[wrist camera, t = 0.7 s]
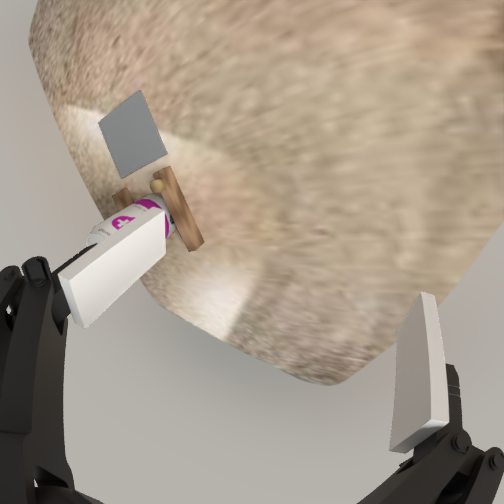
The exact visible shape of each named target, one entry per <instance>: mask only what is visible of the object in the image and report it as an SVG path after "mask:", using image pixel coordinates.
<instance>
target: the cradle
mask: <svg viewBox="0 0 504 504" xmlns="http://www.w3.org/2000/svg"><path fill="white" fill-rule="evenodd" d="M153 176H154V179H155V180H154V181H152V182H151V183H150V188H151V190H152V192H154V193H159V192H161V194H162V196H163V199H164V201H165V203H166V205H167V207H168V209H169V212H170V214H171V216H172V218H173V220H174V222H175V224H176V226H177V229H178V231H179V233H180V235H181V237H182V239H183V241H184V243H185V245H186V247H187V249H188V251H189V252H191V251H195V250H197V249H198V248H199V247H200V246H201V245H202V244H203V243H204V240H203V238H202V236H201V233H200V231H199V229H198V227H197V225H196V223H195V220H194V218H193V216H192V214H191V212H190V209H189V207H188V205H187V203H186V201H185V198H184V196H183V194H182V192H181V189H180V187H179V185H178V183H177V180H176V178H175V176H174V174H173V171H172V169H171V167H170V166H169V167H167V168H164V169H162V170H160V171H158V172H156V173H154V174H153ZM112 198H113V200H114V202H115V204H116V206H117V208H118V210H119V211H121V210H123V209H125V208H126V207H128V206H130V205H131V204H133V203H134V202H133V200H132V197H131V195H130V193H129V191H128V189H127V188H125V189H124V190H122V191H120V192H118V193H116V194H114V195H112Z"/></svg>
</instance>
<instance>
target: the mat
mask: <svg viewBox="0 0 504 504" xmlns="http://www.w3.org/2000/svg"><path fill="white" fill-rule="evenodd" d="M98 124H99V126H100V129H101V131H102V134H103V136H104V139H105V141H106V144H107V146H108V149H109V151H110V153H111V156H112V158H113V161H114V163H115V165H116V168H117V170H118V172H119V175H120V177H121V179H122V178H124V177H126V176H127V175H129V174H131V173H133V172H134V171H136V170H138V169H140V168H142V167H144V166H145V165H147V164H149V163H151V162H153V161H155V160H157V159H158V158H160V157H162V156H164V155H166V154H167V151H166V149H165V147H164V144H163V142H162V139H161V137H160V135H159V132H158V130H157V128H156V125H155V123H154V120H153V118H152V115H151V113H150V111H149V108H148V106H147V103H146V101H145V98H144V96H143V93H142V91H141V90H139V91H138V92H136V93H135V94H134V95H132V96H131V97H130V98H128V99H127V100H126V101H124V102H123V103H122V104H121V105H119V106H118V107H117V108H115V109H114V110H113V111H112V112H111V113H109V114H108V115H107V116H106V117H104V118H103V119H102V120H101V121H100V122H99V123H98Z"/></svg>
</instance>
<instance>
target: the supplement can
mask: <svg viewBox="0 0 504 504" xmlns="http://www.w3.org/2000/svg"><path fill="white" fill-rule="evenodd" d="M152 207H156V208H159V209H163V210H165V239H167V238H168V237H169V236H170V235H171V234H172V233H174V232H175V229H176V227H177V226H176V224H175V222H174V220H173V218H172V216H171V214H170V212H169V209H168V207H167V205H166V203H165V201H164V199H163V197H162V196H160V195H158V194H150V195H148V196H145V197H144V198H142V199H140V200H138V201H137V202H135V203H133V204H131V205H130V206H128V207H126V208H125V209H123V210H121V211H119V212H118V213H116V214H114V215H113V216H111V217H109V218H108V219H106V220H105V221H103V222H101V223H100V224H98V225H97V226H95V227H94V228H93V229H92V231H91V233H90V235H89V236H88V238H87V240H86V247H88V246H90V245H93V244H95V243H98V244H99V243H100V242H101V241H103V240H104V239H106V238H107V237H108V236H110V235H111V234H113V233H114V232H116V231H117V230H119V229H120V228H122V227H123V226H124V225H126V224H127V223H129V222H130V221H132V220H133V219H135V218H136V217H138V216H140V215H141V214H143V213H144V212H146V211H147V210H149V209H150V208H152Z"/></svg>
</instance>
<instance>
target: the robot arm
mask: <svg viewBox="0 0 504 504" xmlns="http://www.w3.org/2000/svg"><path fill="white" fill-rule="evenodd" d="M165 254H166V245H165V210H163V209H159V208H156V207H152V208H150V209H149V210H147V211H146V212H144V213H143V214H141V215H140V216H138V217H136V218H135V219H133V220H132V221H130V222H129V223H127V224H126V225H124V226H123V227H122V228H120V229H119V230H117V231H116V232H114V233H113V234H111V235H110V236H108V237H107V238H106V239H104V240H103V241H101V242H100V243H99V244H98V243H95V244H93V245H90V246H88V247H86V248H84V249H83V250H82V251H80V252H79V254H76V255H75V256H74V257H73V258H71V259H69V260H68V261H67V262H65V263H64V264H63V265H62V266H60V267H59V268H57V269H56V270H55V271H54V272H52V273H51V271H50V268H49V264H48V261H47V259H46V258H44V257H42V256H41V257H40V256H37V257H33V258H30V259H28V260H27V261H26V262H25V263H24V264H23V265H22V267H21V268H22V270H23V273H24V276H22V274H21V271H20V269H19V267H18V266H8V267H6V268H4V269H3V270H2V271H1V272H0V504H103V503H102V502H100V501H99V500H96V499H93V498H92V497H89V496H87V495H84V494H82V493H80V492H78V491H76V490H75V487H74V480H73V475H72V472H71V469H70V467H69V465H68V463H67V460H66V456H65V445H64V424H63V382H64V381H63V380H64V361H65V347H66V337H67V328H68V319H67V316H68V315H69V314H70V313H71V314H72V316H73V319H74V322H75V323H77V324H78V325H80V326H81V327H83V328H84V329H87V328H88V326H90V325H91V324H92V323H93V322H94V321H95V320H96V319H97V318H98V317H99V316H100V315H101V314H102V313H103V312H104V311H105V310H106V309H107V308H108V307H109V306H110V305H111V304H112V303H113V302H114V301H115V300H116V299H117V298H118V297H120V296H121V295H122V294H123V293H124V292H125V291H126V290H127V289H128V288H129V287H130V286H131V285H132V284H133V283H134V282H136V281H137V280H138V279H139V278H140V277H141V276H142V275H143V274H144V273H145V272H146V271H147V270H149V269H150V268H151V267H152V266H153V265H154V264H155V263H156V262H157V261H159V260H160V259H161V258H162V257H163V256H164V255H165ZM8 305H9V307H10V309H11V312H10V314H8V313H7V311H6V309H7V307H8ZM413 448H414V454H413V457H411V458H409V459H408V460H406V461H405V462H403V463H401V464H400V465H399V466H400V468H399V469H398V470H397V471H396V472H395V473H394V474H393V475H391V476H390V477H389V478H388V479H387V480H386V481H385V482H383V483H382V484H381V485H380V486H379V487H377V488H376V489H375V490H374V491H373V492H371V493H370V494H369V495H368V496H366V497H365V498H364V499H363V500H361V501H360V502H359V503H357V504H492V502H493V500H494V497H495V495H496V492H497V490H498V487H499V484H500V481H501V478H502V475H503V472H504V453H503V452H502V450H501V449H500V448H497V447H492V448H490V449H489V450H487V451H486V452H484V451H482V450H480V449H478V448H476V447H474V446H473V445H472V442H471V438H470V436H469V434H468V433H467V432H466V431H465V430H463V428H462V410H461V398H460V389H459V377H458V374H457V372H456V370H455V368H454V365H450V364H446V363H445V357H444V349H443V342H442V335H441V329H440V323H439V318H438V312H437V306H436V301H435V297H434V295H431V294H428V293H425V292H422V291H421V292H420V294H419V296H418V297H417V299H416V301H415V302H414V304H413V306H412V308H411V309H410V311H409V313H408V314H407V316H406V318H405V319H404V321H403V322H402V324H401V326H400V327H399V329H398V330H397V357H396V384H395V399H394V411H393V421H392V430H391V440H390V446H389V451H392V452H399V453H407V452H409V451H410V450H411V449H413ZM34 479H35V481H36V483H37V485H38V487H35V486H34Z"/></svg>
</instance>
